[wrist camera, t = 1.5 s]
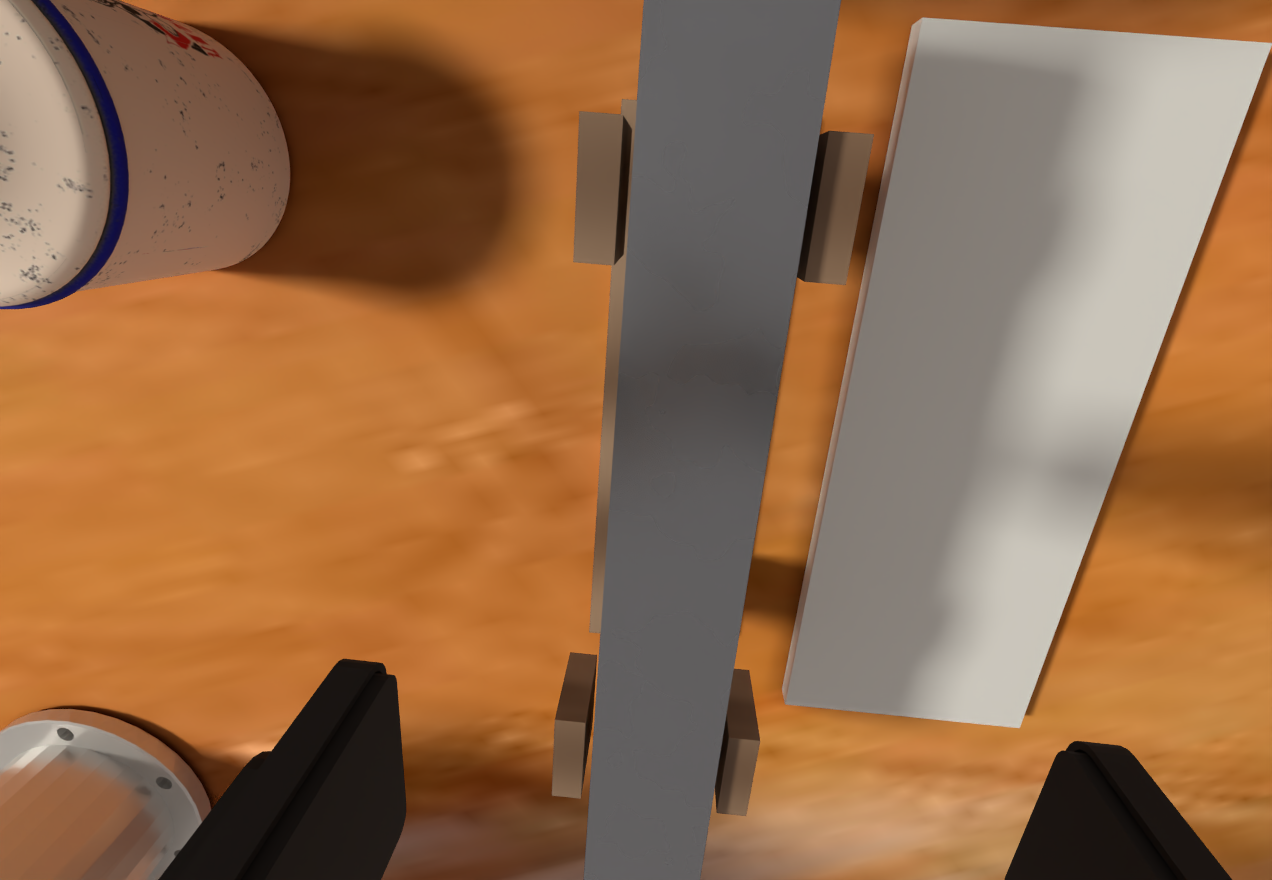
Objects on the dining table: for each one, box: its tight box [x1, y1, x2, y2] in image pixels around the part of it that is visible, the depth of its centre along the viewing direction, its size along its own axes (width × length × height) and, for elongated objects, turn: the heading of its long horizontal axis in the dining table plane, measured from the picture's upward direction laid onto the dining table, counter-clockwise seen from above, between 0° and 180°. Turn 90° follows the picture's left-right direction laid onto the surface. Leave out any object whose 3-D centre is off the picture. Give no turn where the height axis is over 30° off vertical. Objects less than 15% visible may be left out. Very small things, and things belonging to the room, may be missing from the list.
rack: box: [552, 99, 874, 816], centre depth 22 cm, size 22×6×11 cm, turn 176°
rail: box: [584, 0, 841, 880], centre depth 18 cm, size 27×4×4 cm, turn 176°
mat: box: [782, 18, 1272, 728], centre depth 26 cm, size 28×11×1 cm, turn 176°
